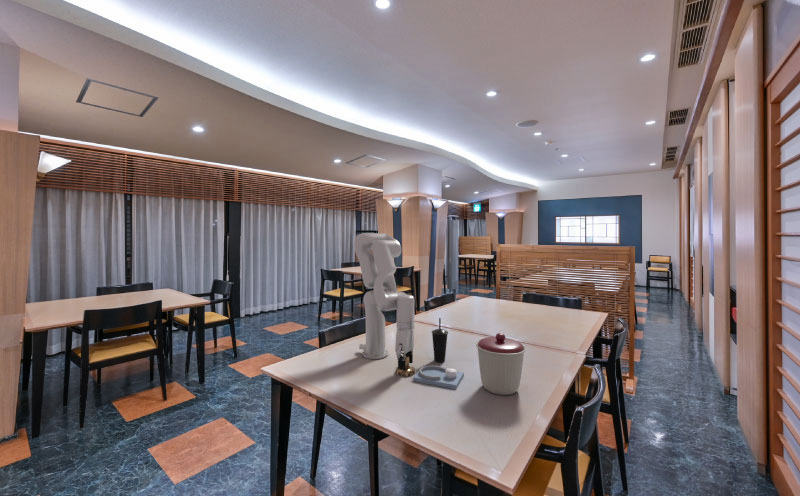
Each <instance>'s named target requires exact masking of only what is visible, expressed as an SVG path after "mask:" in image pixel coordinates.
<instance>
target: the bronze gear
mask: <svg viewBox="0 0 800 496" xmlns="http://www.w3.org/2000/svg"><path fill="white" fill-rule="evenodd" d="M402 357H403V355H402ZM405 360H406V363H405V370H400V369H398V366H397V367H395V374H396V375H397V376H400V377H409V376H410V377H411V376H412V377H413V375H416V368H415V367H414V366H411V365H410V363H409V356H405Z"/></svg>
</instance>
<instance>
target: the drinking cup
mask: <svg viewBox="0 0 800 496" xmlns="http://www.w3.org/2000/svg"><path fill="white" fill-rule="evenodd" d="M441 319H442V318H441V317H439V318H438V328H435V329H433V330H432V331H431V335H432V346H433V347H432V348H433V357H434V358H433V359H434V360H433V361H434V363H439V364H442V363H445V362H446V353H447V342H448V334H449V331H448V330H445V329H443V328H441V325H442V324H441V323H442V322H441V321H442V320H441Z"/></svg>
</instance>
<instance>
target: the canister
mask: <svg viewBox="0 0 800 496" xmlns="http://www.w3.org/2000/svg"><path fill="white" fill-rule="evenodd" d="M475 347H476V348H477V356H478V365H479V374H480V380H481V384H482V386H483V388H484V389H485V390H486V391H488V392H489V393H492V394H495V395H499V396H501V395H502V396H504V395H505V396H506V395H507V396H508V395H513V394H515V393H516V392H517V391H519V388H520V385H521V379H522V373H523V363H524V356H525V353H526V351H527V347H526V346H525V345H524V344H522V343H521V342H520V341H518V340H516V339H512V338H510V337H509V338H508V337H506V335H505V334H504V333H501V332H498V333H496V334H495V336H488V337H487V336H486V337H483V338H481V339H480V340H477V341H476V343H475Z"/></svg>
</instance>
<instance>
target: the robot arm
mask: <svg viewBox="0 0 800 496" xmlns="http://www.w3.org/2000/svg"><path fill="white" fill-rule="evenodd" d="M353 244H354V245H353V246H354V252H355V255H356V257H357V258H358V263H359V266H360V272H361V277H362V282H363V285H364V287H365V288H367V289H373V290H369V291H366V292H365V294H364V295H363V307H364V312H365V314H364V315H365V344H364V343H359V347H358V348H359V350H363V352H362V356H363V358H365V359H370V360H380V359H384V358H387V357H388V356H389V351H388V350H387V349H386V317H385V315H384V314H383V312H389V311H390V312H391V311H395V310H396V334H395V349H394V351H395V352H394V353H396V358H397V367H398V369H400V370H405V363H406V360H405V356H409V364H413V363H414V362H413V359H414V358H413V357H414V354H413V353H414V351H413V350H414V347H415V346H414V345H415V344H414V343H415V334H414V329H415V297H414V295H410V294H407V293H405V292H403V291H398V289H397V284H396V279H395V275H394V274H395V272H396V271H397V266H396V264H395V261H394V258H399V256H401V254H402V245H401V244H400V242H399V240H397V239H395V238H394V237H392V236H391V235H389V234H388V233H384V232H383V233H381V232H379V233H378V232H376V233H375V232H365V233H359V234H358V235H356V237H355V238H354V243H353ZM402 356H403V357H402Z"/></svg>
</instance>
